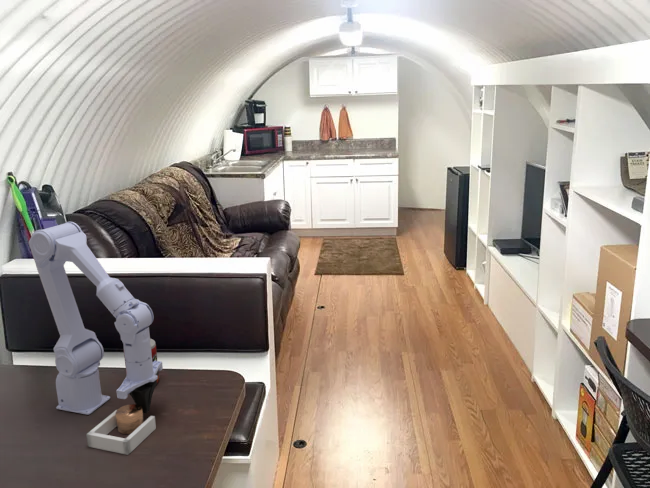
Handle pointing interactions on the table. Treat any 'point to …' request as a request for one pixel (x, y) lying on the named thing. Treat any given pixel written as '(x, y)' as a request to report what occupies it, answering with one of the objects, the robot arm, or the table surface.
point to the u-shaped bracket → (117, 444)
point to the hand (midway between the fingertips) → (144, 411)
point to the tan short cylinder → (129, 418)
